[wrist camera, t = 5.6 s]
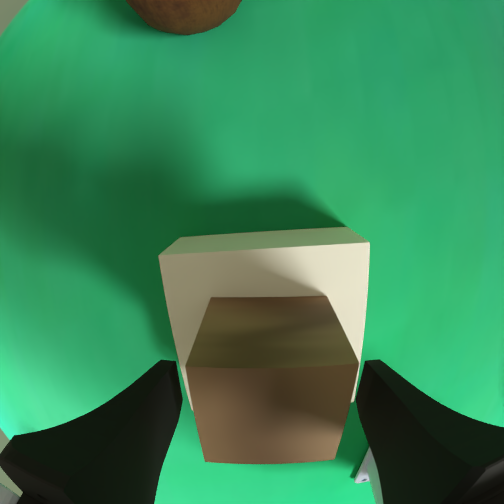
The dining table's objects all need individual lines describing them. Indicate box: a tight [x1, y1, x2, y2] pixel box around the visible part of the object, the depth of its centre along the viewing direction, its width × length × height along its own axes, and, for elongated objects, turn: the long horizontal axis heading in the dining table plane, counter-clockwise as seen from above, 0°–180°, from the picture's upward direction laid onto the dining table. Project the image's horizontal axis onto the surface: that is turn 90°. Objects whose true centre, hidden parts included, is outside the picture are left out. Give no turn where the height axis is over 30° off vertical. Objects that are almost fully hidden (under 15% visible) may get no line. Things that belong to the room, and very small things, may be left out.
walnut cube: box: [185, 296, 359, 464], centre depth 11 cm, size 5×5×5 cm
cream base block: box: [158, 227, 370, 410], centre depth 15 cm, size 9×9×4 cm
